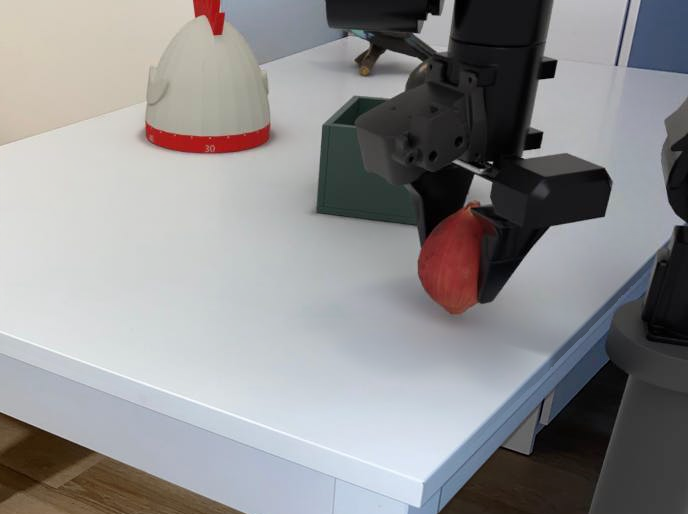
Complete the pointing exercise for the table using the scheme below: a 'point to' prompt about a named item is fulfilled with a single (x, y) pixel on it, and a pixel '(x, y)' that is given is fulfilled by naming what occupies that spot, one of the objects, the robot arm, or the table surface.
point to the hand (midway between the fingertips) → (457, 286)
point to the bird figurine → (389, 47)
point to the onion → (452, 261)
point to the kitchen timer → (207, 89)
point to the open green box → (356, 172)
